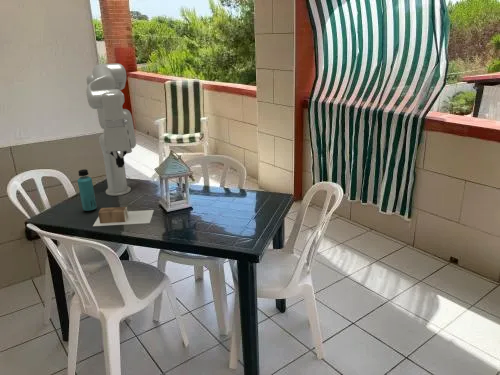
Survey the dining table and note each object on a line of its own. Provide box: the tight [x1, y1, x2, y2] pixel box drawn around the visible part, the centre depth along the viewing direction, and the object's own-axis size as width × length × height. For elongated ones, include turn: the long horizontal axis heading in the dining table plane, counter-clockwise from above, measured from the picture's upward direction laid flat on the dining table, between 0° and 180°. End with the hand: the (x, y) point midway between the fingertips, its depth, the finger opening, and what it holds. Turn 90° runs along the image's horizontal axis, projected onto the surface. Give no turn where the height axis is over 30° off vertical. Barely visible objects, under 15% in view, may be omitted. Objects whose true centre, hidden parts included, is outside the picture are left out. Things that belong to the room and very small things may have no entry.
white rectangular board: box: [92, 209, 155, 227], centre depth 180 cm, size 14×24×1 cm, turn 95°
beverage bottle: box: [77, 168, 97, 212], centre depth 185 cm, size 6×7×20 cm
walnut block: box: [97, 206, 128, 223], centre depth 177 cm, size 5×5×11 cm
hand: (120, 166), depth 170 cm, fingers closed
